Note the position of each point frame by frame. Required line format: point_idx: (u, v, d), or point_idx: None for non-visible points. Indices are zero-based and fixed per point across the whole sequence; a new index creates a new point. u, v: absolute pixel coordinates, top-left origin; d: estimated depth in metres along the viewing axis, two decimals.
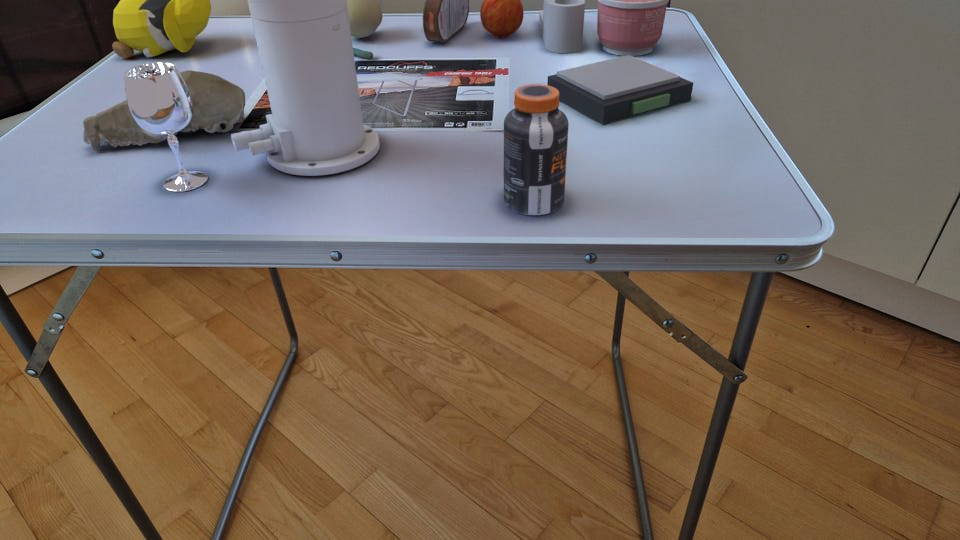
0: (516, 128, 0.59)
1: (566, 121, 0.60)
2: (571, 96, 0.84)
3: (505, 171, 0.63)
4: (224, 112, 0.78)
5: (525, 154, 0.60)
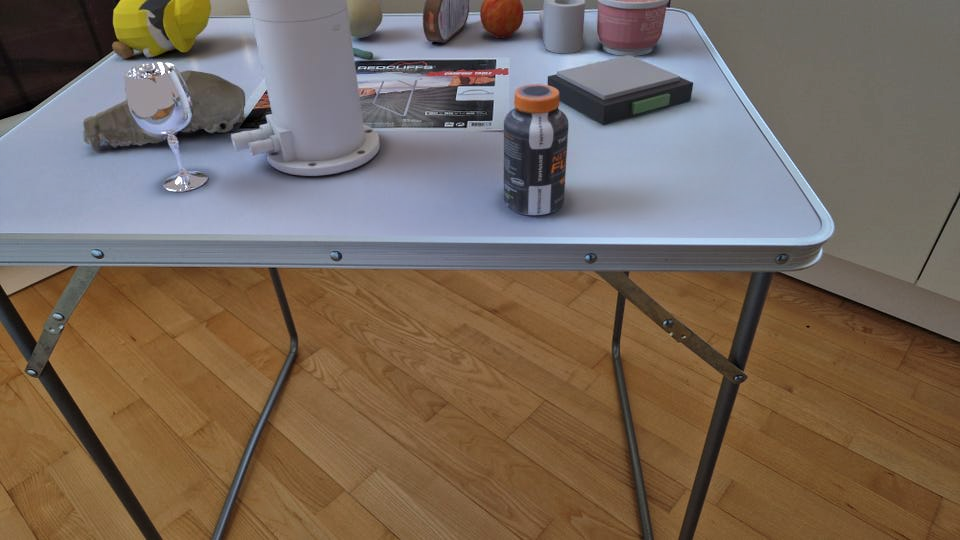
0: (516, 128, 0.59)
1: (566, 121, 0.60)
2: (571, 96, 0.84)
3: (505, 171, 0.63)
4: (224, 112, 0.78)
5: (525, 154, 0.60)
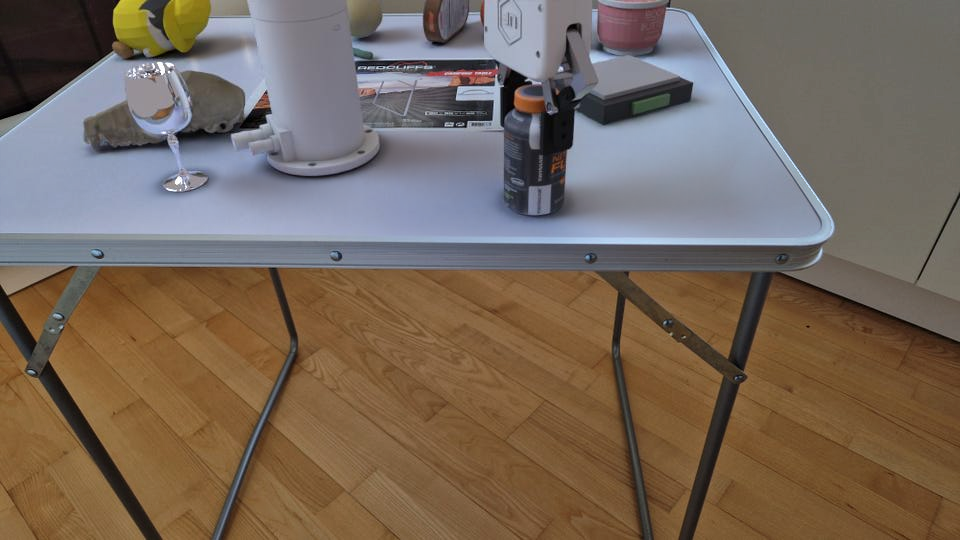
0: (516, 128, 0.59)
1: None
2: None
3: (505, 171, 0.63)
4: (224, 112, 0.78)
5: (525, 154, 0.60)
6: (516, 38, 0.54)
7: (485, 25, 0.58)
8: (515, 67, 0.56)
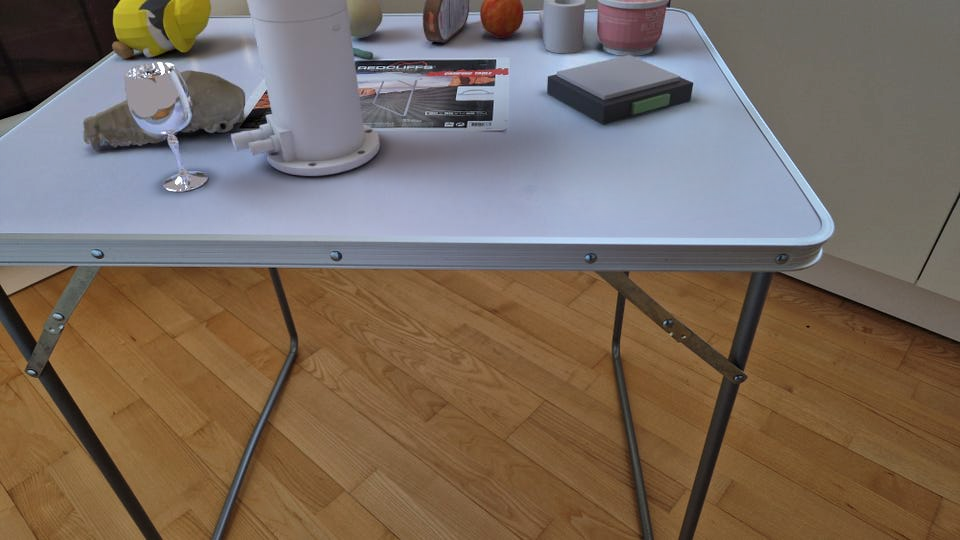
0: None
1: None
2: (571, 96, 0.84)
3: None
4: (224, 112, 0.78)
5: None
6: None
7: None
8: None
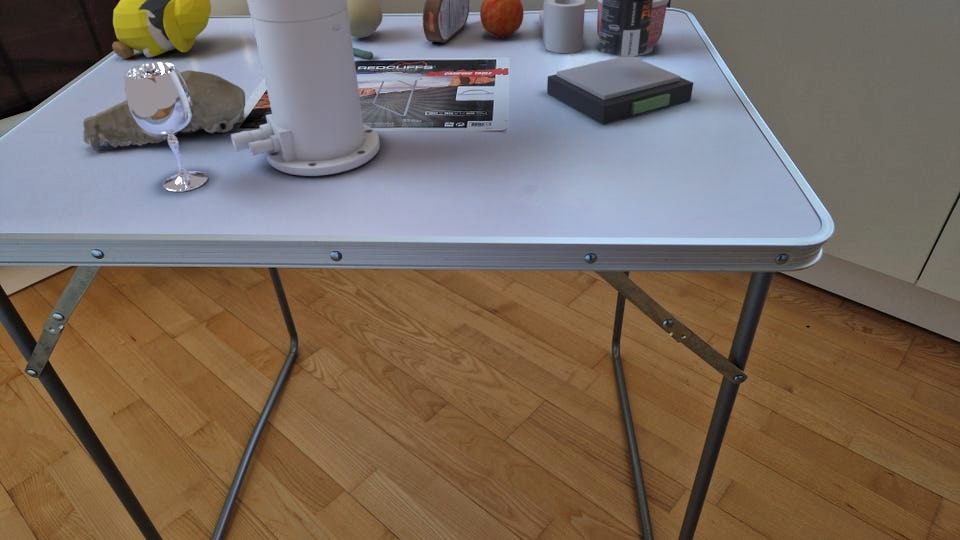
0: None
1: None
2: (571, 96, 0.84)
3: (603, 21, 0.81)
4: (224, 112, 0.78)
5: (622, 2, 0.78)
6: None
7: None
8: None
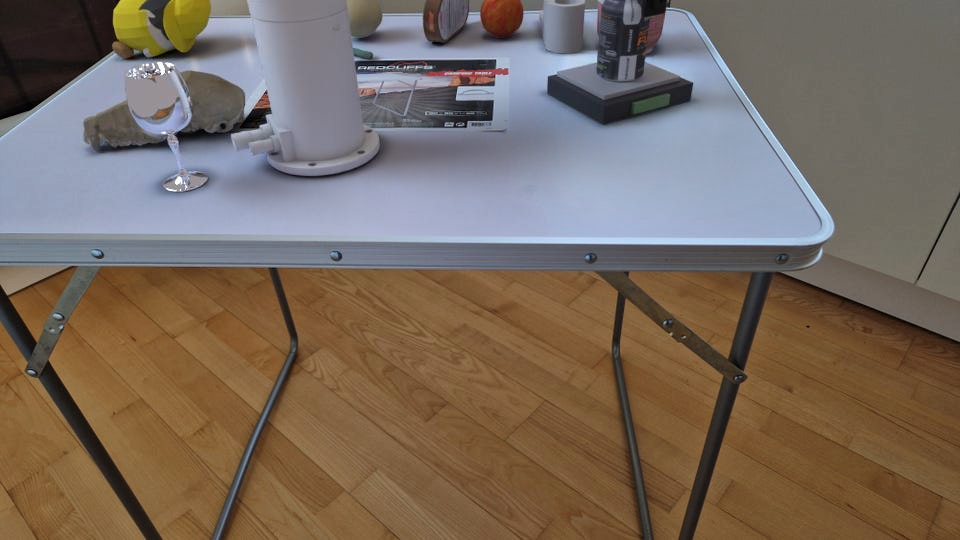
0: (613, 8, 0.79)
1: None
2: (571, 96, 0.84)
3: (600, 46, 0.83)
4: (224, 112, 0.78)
5: (619, 29, 0.80)
6: None
7: None
8: None
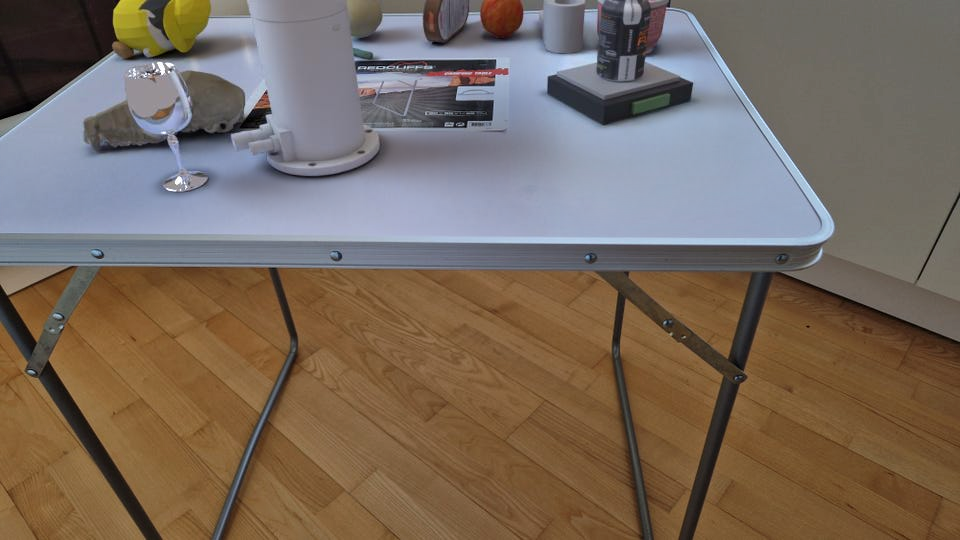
0: (613, 8, 0.79)
1: (650, 4, 0.80)
2: (571, 96, 0.84)
3: (600, 46, 0.83)
4: (224, 112, 0.78)
5: (619, 29, 0.80)
6: None
7: None
8: None
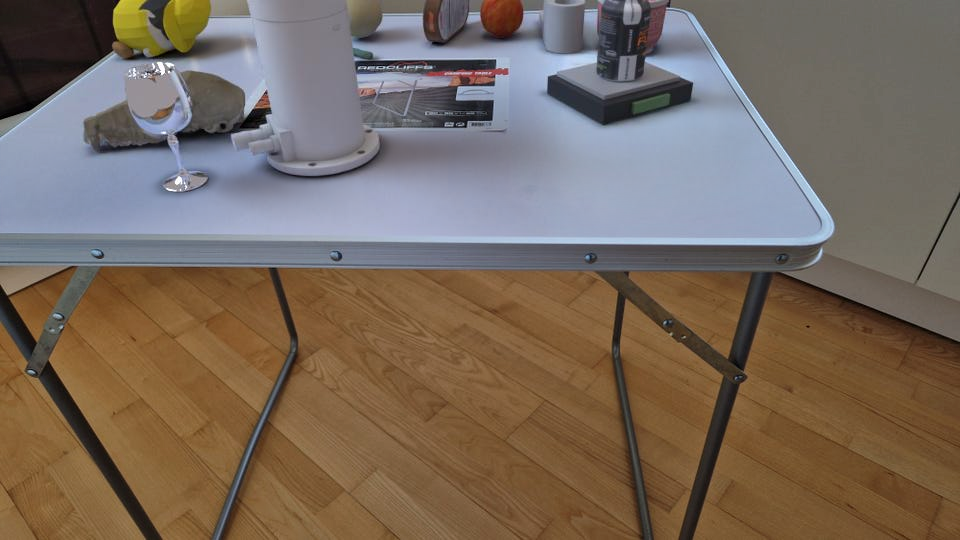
0: (613, 8, 0.79)
1: (650, 4, 0.80)
2: (571, 96, 0.84)
3: (600, 46, 0.83)
4: (224, 112, 0.78)
5: (619, 29, 0.80)
6: None
7: None
8: None
